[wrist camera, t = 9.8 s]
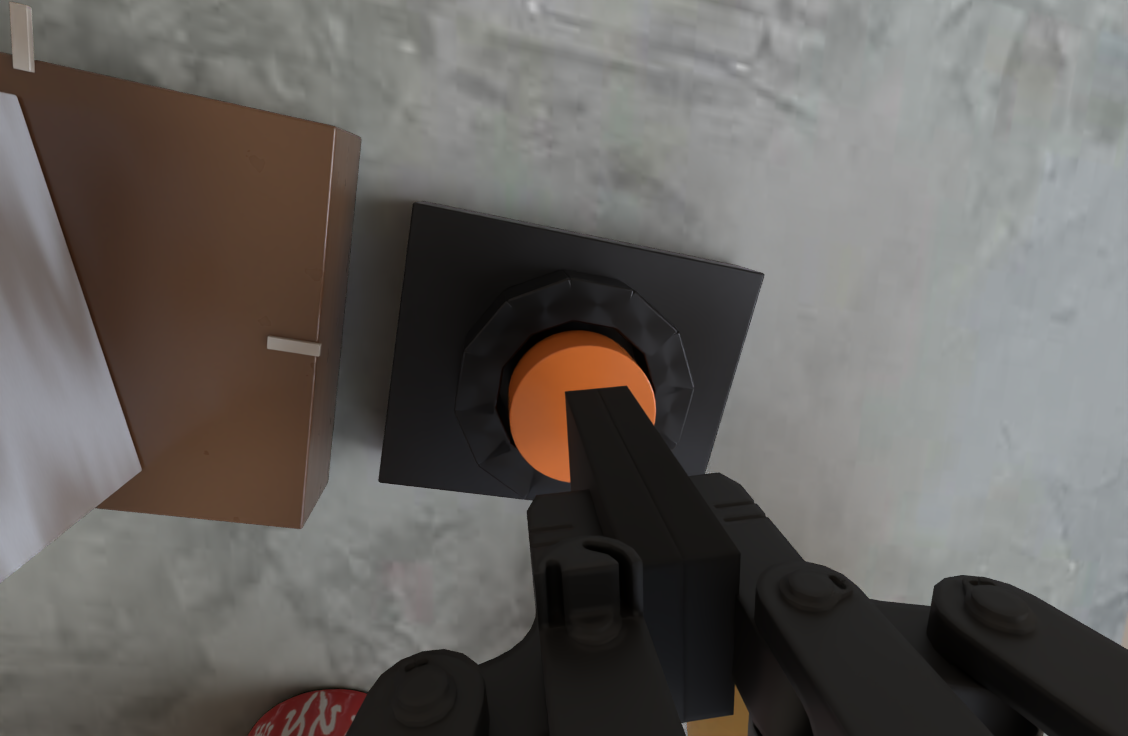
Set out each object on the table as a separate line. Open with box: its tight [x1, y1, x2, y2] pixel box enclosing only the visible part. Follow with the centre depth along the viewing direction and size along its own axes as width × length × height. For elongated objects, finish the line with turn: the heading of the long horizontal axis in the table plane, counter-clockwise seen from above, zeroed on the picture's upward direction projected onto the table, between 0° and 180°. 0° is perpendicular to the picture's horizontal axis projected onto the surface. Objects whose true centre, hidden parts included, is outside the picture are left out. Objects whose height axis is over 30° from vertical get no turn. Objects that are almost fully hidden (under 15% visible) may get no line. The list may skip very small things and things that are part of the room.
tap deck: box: [0, 1, 361, 540], centre depth 16 cm, size 14×14×3 cm
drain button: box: [508, 330, 656, 482], centre depth 16 cm, size 4×4×2 cm
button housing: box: [379, 201, 764, 500], centre depth 18 cm, size 11×9×4 cm
